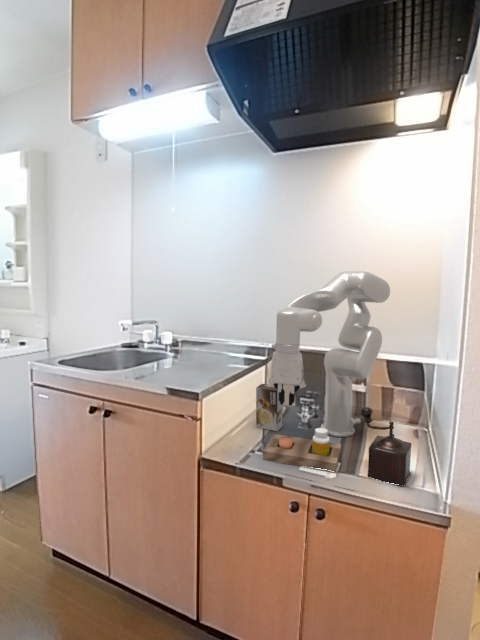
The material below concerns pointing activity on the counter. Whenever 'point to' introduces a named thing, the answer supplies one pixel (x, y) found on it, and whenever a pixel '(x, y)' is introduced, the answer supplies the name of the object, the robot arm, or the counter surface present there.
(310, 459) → the board
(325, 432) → the supplement bottle
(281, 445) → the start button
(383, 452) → the manual coffee grinder
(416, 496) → the counter surface
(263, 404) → the coffee box
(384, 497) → the counter surface
